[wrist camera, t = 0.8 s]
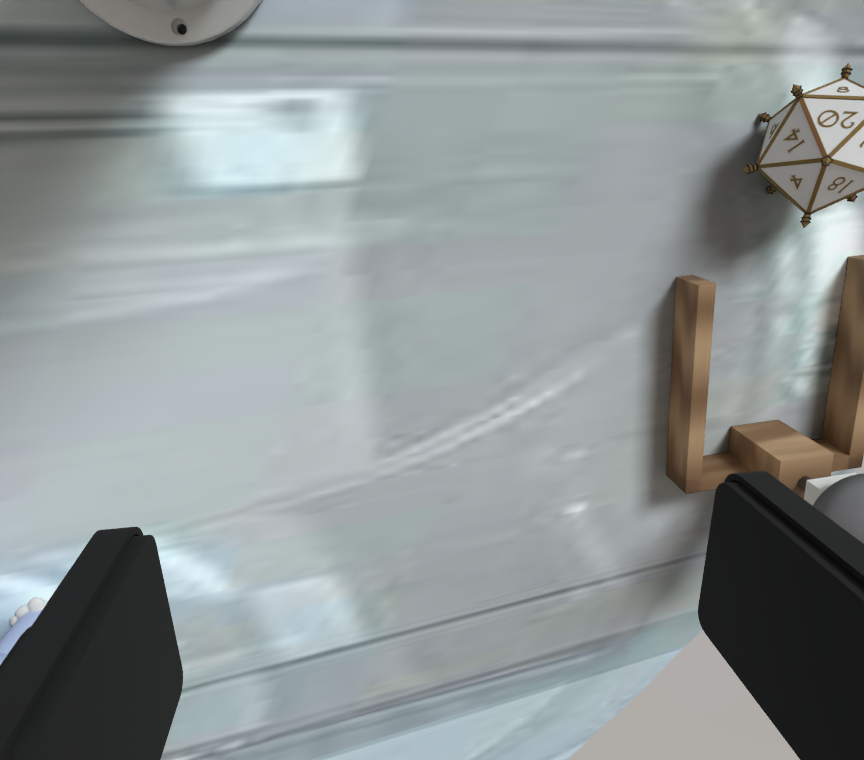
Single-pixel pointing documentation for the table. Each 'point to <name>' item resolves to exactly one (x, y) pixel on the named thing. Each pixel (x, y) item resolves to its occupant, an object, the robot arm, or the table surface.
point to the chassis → (772, 440)
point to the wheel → (840, 500)
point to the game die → (816, 146)
